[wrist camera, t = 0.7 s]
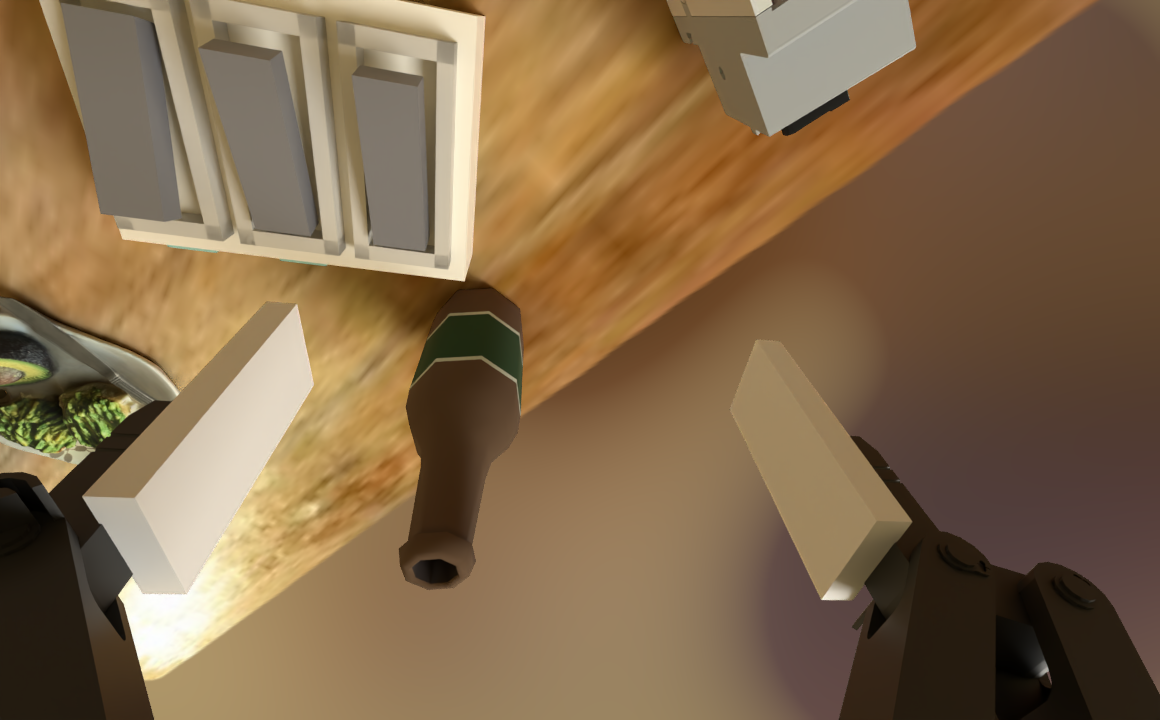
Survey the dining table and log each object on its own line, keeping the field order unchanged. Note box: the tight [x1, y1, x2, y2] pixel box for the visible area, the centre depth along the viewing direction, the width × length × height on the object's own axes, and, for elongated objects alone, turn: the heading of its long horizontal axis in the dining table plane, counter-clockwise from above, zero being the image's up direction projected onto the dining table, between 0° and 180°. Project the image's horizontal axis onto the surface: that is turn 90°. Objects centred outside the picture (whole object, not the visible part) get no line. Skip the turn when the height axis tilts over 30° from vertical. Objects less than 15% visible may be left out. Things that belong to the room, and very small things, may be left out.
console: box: [39, 0, 485, 281], centre depth 32 cm, size 16×22×6 cm
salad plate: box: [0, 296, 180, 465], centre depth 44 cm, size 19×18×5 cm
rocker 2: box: [198, 39, 319, 236], centre depth 28 cm, size 10×3×2 cm, turn 170°
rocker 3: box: [352, 65, 429, 251], centre depth 30 cm, size 10×3×2 cm, turn 170°
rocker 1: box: [61, 3, 182, 222], centre depth 27 cm, size 10×3×2 cm, turn 170°
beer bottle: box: [399, 288, 524, 590], centre depth 34 cm, size 8×8×24 cm
